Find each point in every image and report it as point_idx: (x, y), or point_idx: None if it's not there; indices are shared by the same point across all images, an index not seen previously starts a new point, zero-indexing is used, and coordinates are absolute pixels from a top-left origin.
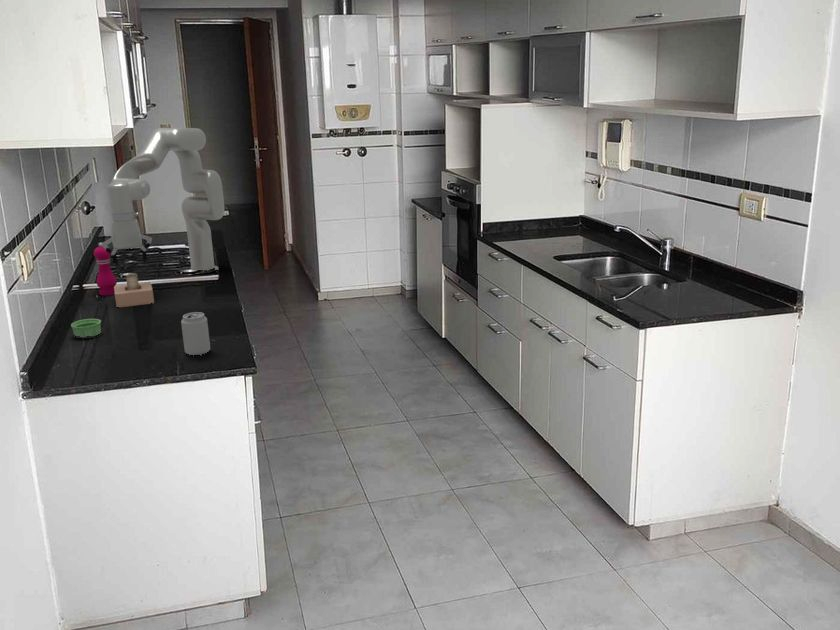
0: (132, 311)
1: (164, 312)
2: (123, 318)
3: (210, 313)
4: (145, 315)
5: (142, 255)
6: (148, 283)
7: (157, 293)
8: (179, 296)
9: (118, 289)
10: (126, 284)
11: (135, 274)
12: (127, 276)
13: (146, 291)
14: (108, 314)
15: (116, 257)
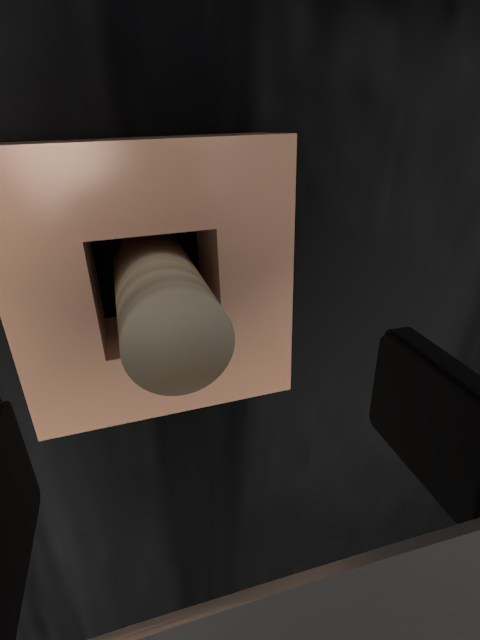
0: (153, 460)
1: (290, 491)
2: (121, 546)
3: (425, 516)
4: (215, 518)
5: (426, 467)
6: (278, 193)
7: (293, 117)
8: (393, 254)
9: (37, 308)
10: (83, 141)
11: (218, 344)
12: (141, 385)
13: (251, 393)
14: None
15: (15, 622)
